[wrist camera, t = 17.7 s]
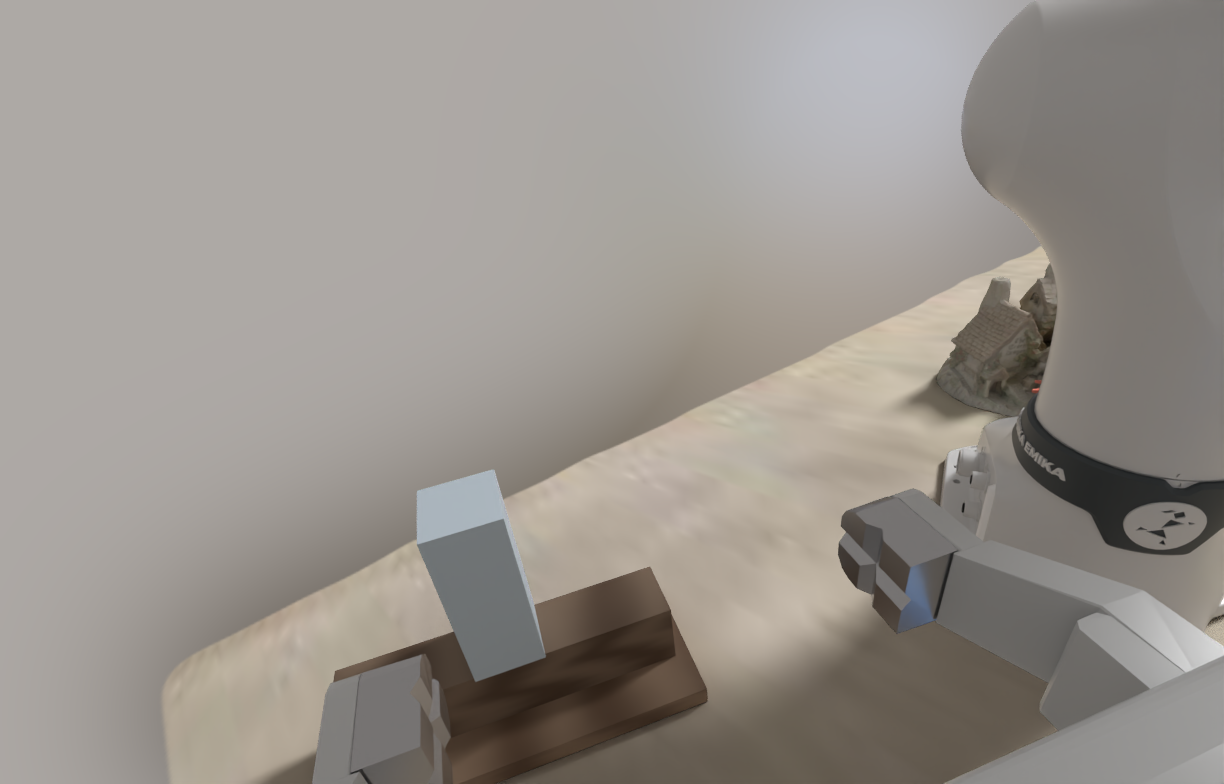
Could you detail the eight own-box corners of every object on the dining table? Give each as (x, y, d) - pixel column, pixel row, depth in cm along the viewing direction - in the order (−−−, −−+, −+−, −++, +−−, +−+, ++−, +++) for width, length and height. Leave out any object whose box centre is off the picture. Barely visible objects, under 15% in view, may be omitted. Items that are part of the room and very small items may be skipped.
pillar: (533, 602, 40) (493, 469, 34) (545, 657, 36) (503, 518, 30) (469, 623, 39) (417, 490, 33) (475, 681, 35) (416, 544, 29)
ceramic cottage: (922, 365, 71) (952, 251, 63) (1061, 359, 70) (1112, 241, 61) (980, 446, 59) (1028, 317, 50) (1153, 441, 57) (1233, 306, 48)
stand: (655, 590, 47) (648, 534, 44) (707, 701, 39) (703, 642, 35) (358, 692, 43) (325, 638, 39) (344, 841, 34) (300, 789, 31)
